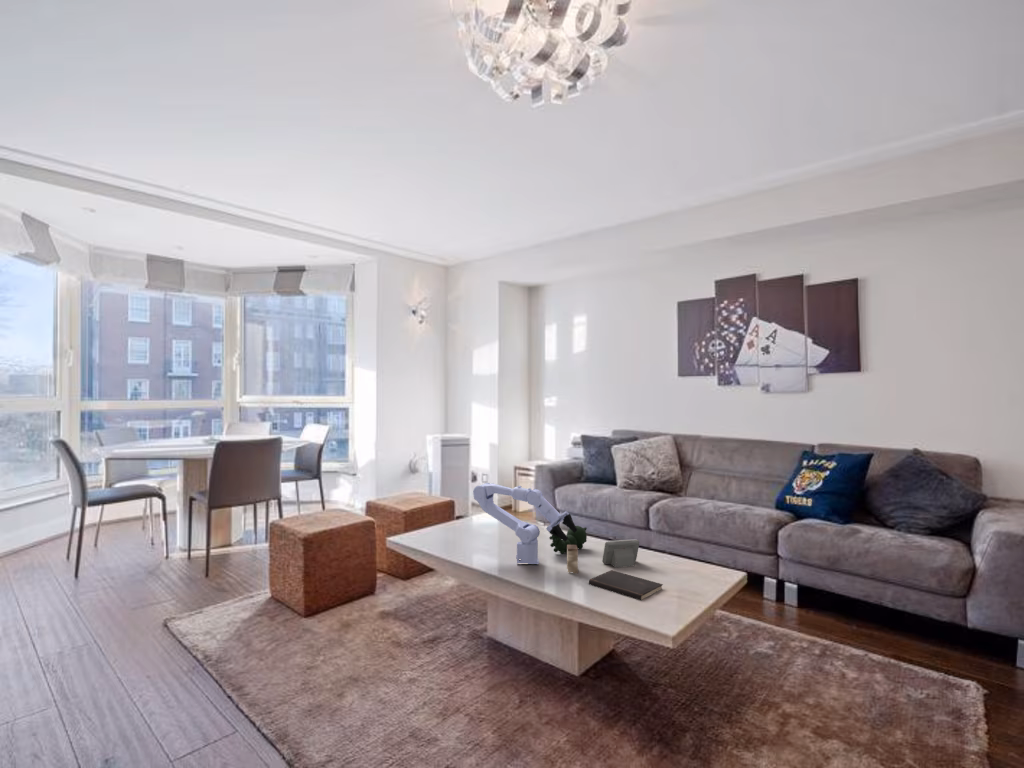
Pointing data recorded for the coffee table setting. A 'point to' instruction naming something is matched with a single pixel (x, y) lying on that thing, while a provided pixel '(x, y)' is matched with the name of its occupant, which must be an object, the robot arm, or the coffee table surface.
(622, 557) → the digital clock
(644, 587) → the hardcover book
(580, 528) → the toy figurine
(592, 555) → the coffee table surface
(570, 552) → the beech block
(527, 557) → the robot arm
